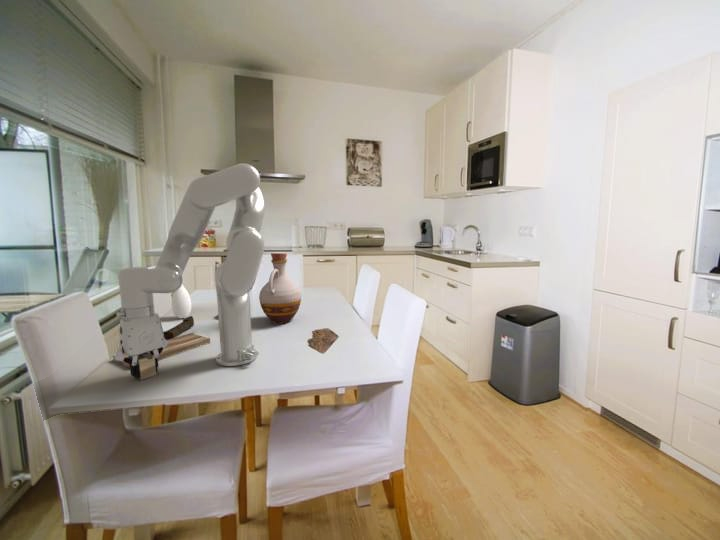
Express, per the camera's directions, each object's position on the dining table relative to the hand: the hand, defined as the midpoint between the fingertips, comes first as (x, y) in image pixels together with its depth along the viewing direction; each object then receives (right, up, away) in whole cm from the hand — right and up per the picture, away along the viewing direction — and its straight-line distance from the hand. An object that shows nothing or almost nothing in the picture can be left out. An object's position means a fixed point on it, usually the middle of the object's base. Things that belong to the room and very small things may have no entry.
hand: (145, 373), depth 97 cm
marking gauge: (0, -1, 0) cm, 1 cm away
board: (-5, +2, +18) cm, 19 cm away
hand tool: (-10, +4, +38) cm, 39 cm away
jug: (+27, +7, +51) cm, 58 cm away
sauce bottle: (-19, +8, +56) cm, 60 cm away
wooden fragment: (+48, +3, +29) cm, 56 cm away
